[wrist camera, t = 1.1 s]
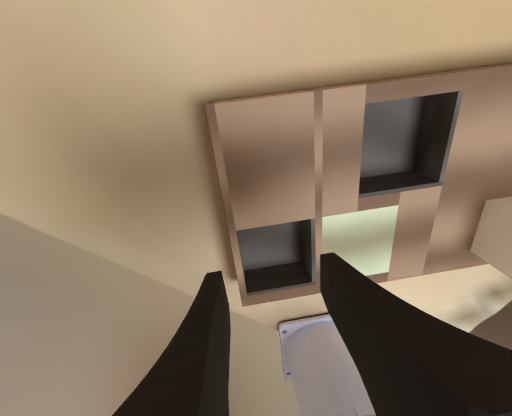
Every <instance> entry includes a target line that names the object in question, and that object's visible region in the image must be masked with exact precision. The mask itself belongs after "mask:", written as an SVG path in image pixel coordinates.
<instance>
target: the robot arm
mask: <svg viewBox="0 0 512 416" xmlns="http://www.w3.org/2000/svg"><path fill="white" fill-rule="evenodd" d="M320 291H321V294H322V296H323V299H324V302H325V305H326V307H327V310H328V312H329V314H327V315H321V316H316V317H310V318H304V319H299V320H293V321H288V322H283V323H281V324H280V325H279V333H280V343H281V351H282V361H283V371H284V379H285V381H287V382H290V381H293V385H294V389H295V394H296V398H297V402H298V407H299V411H300V415H301V416H512V350H510V349H507V348H505V347H502V346H499V345H497V344H494V343H492V342H489V341H487V340H484V339H482V338H479V337H477V336H475V335H472V334H470V333H468V332H465V331H463V330H461V329H458V328H456V327H454V326H452V325H450V324H448V323H446V322H444V321H441V320H439V319H437V318H435V317H433V316H431V315H429V314H427V313H425V312H423V311H422V310H420V309H418V308H416V307H414V306H412V305H411V304H409V303H407V302H405V301H404V300H402V299H400V298H398V297H397V296H395V295H394V294H392V293H390V292H389V291H387V290H386V289H384V288H382V287H381V286H379V285H378V284H376V283H375V282H374V281H372V280H371V279H369V278H368V277H366V276H365V275H364V274H362V273H361V272H359V271H358V270H357V269H355V268H354V267H353V266H351V265H350V264H349V263H347V262H346V261H345V260H343V259H342V258H341V257H339V256H338V255H337V254H335V253H334V252H332V253H326V254H320ZM230 329H231V328H230V313H229V303H228V299H227V294H226V290H225V285H224V281H223V276H222V271H217V272H211V273H207V274H206V275H205V277H204V280H203V282H202V284H201V287H200V289H199V291H198V293H197V295H196V298H195V300H194V302H193V304H192V306H191V307H190V309H189V311H188V313H187V315H186V317H185V318H184V320H183V322H182V324H181V325H180V327H179V329H178V330H177V332H176V334H175V335H174V337H173V338H172V340H171V342H170V343H169V345H168V346H167V348H166V349H165V350H164V352H163V353H162V355H161V356H160V358H159V359H158V360H157V362H156V363H155V364H154V366H153V367H152V368H151V370H150V371H149V372H148V374H147V375H146V376H145V378H144V379H143V380H142V381H141V383H140V384H139V385H138V386H137V388H136V389H135V390H134V391H133V392H132V393H131V394H130V396H129V397H128V398H127V399H126V400H125V401H124V402H123V404H122V405H121V406H120V407H119V408H118V409H117V411H116V412H115V413H114V414H113V415H112V416H229V404H228V380H229V356H230V354H229V353H230Z"/></svg>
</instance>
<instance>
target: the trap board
mask: <svg viewBox="0 0 512 416" xmlns="http://www.w3.org/2000/svg"><path fill="white" fill-rule="evenodd" d="M205 109H206V114H207V119H208V125H209V130H210V135H211V141H212V146H213V151H214V157H215V162H216V167H217V173H218V178H219V183H220V189H221V194H222V199H223V205H224V210H225V215H226V221H227V226H228V231H229V237H230V242H231V247H232V253H233V258H234V263H235V269H236V274H237V279H238V285H239V290H240V295H241V301H242V306H249V305H255V304H260V303H266V302H272V301H277V300H283V299H289V298H295V297H300V296H306V295H312V294H318V293H321V291H320V254H326V253H332V252H334V253H335V254H337V255H338V256H339V257H341V258H342V259H343V260H345V261H346V262H347V263H349V264H350V265H351V266H353V267H354V268H355V269H357V270H358V271H359V272H361V273H362V274H364V275H365V276H366V277H368V278H369V279H371V280H372V281H374V282H375V283H381V282H387V281H392V280H398V279H404V278H410V277H415V276H421V275H427V274H433V273H438V272H444V271H450V270H455V269H461V268H467V267H473V266H478V265H484V264H489V263H487V262H486V261H484V260H483V259H481V258H480V257H478V256H477V255H476V254H474V253H473V252H471V251H470V249H471V246H472V243H473V240H474V237H475V233H476V230H477V227H478V224H479V221H480V218H481V215H482V211H483V208H484V205H485V202H486V200H491V199H498V198H504V197H510V196H512V63H507V64H499V65H492V66H484V67H476V68H468V69H461V70H453V71H445V72H437V73H429V74H422V75H414V76H406V77H398V78H391V79H383V80H375V81H367V82H360V83H352V84H344V85H336V86H329V87H321V88H313V89H305V90H298V91H290V92H282V93H274V94H267V95H259V96H251V97H243V98H236V99H228V100H220V101H212V102H207V104H206V105H205Z"/></svg>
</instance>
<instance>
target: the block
mask: <svg viewBox="0 0 512 416" xmlns="http://www.w3.org/2000/svg"><path fill="white" fill-rule="evenodd" d="M470 251H471V252H473V253H474V254H476V255H477V256H478V257H480V258H481V259H483V260H484V261H486V262H487V263H489V264H490V265H492V266H493V267H495V268H496V269H498V270H499V271H501V272H502V273H504V274H505V275H507V276H508V277H510V278H511V279H512V196H510V197H504V198H498V199H491V200H486V202H485V205H484V208H483V211H482V215H481V218H480V221H479V224H478V227H477V230H476V233H475V237H474V240H473V243H472V246H471V249H470Z"/></svg>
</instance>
